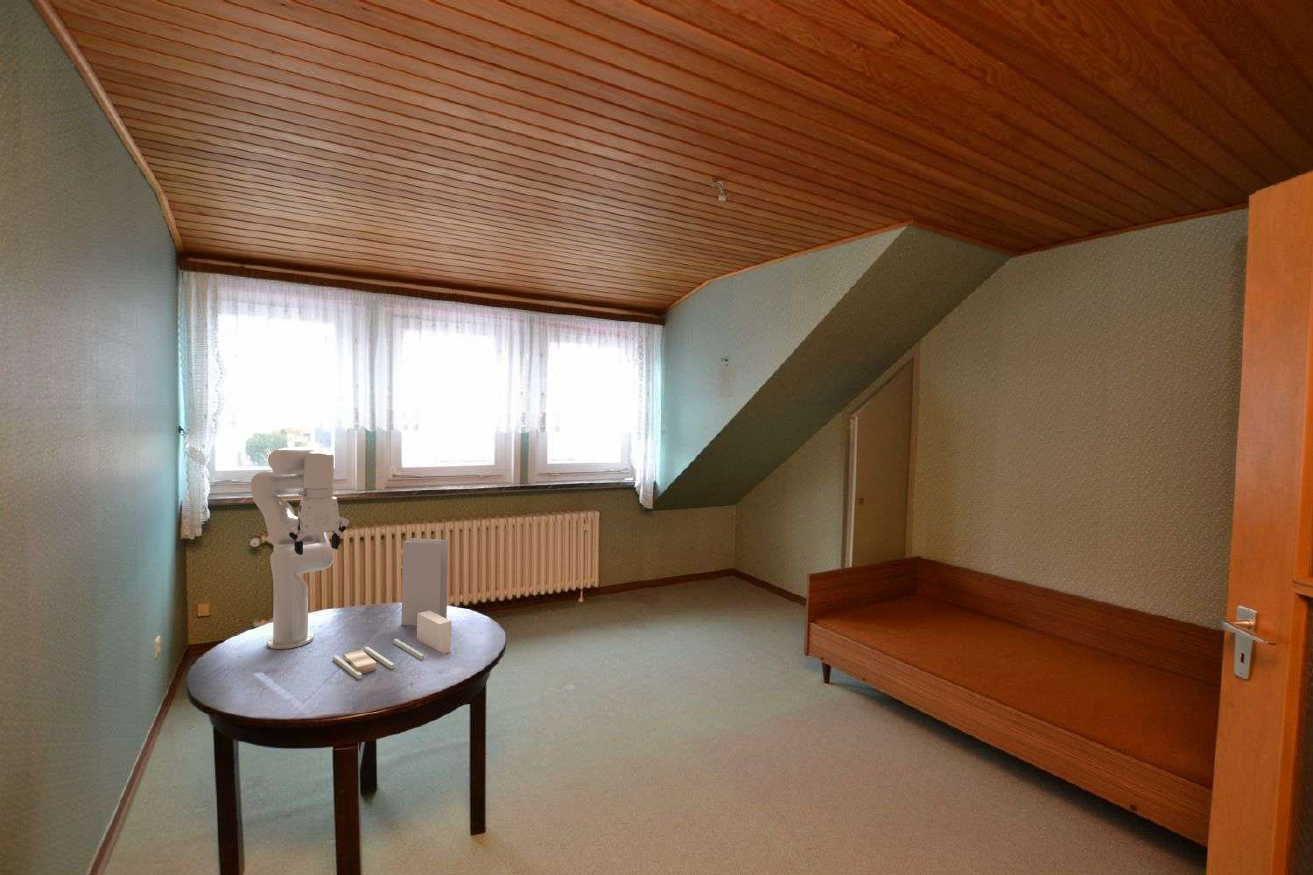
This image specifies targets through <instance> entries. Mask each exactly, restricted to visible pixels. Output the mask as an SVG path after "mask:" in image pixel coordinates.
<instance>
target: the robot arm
mask: <svg viewBox="0 0 1313 875" xmlns="http://www.w3.org/2000/svg"><path fill="white" fill-rule="evenodd" d="M267 463H268V465H269V467H270V468H271V469H272V470H267V471H262V472H258V473H255V475H253V476H252V478H251V480H250V492H251V496H252V500H253V501H254V503H255V505H256V506H257V508H258V509H259V510H260V512H261V514H262V516H263V519H264V521H265V526H266V530H267V533H268V536H269V540H270V543H271V544H272V546H274V547H276V549H274V550H273V551H272V553H271V554H270V557H269V558H270V559H269V562H270V568H271V574H272V580H273V581H272V584H273V585H272V586H273V602H272V604H273V606H272V607H273V608H272V609H273V610H272V611H273V612H272V613H273V614H272V616H273V617H272V618H273V620H272V621H273V626H272V629H273V630H272V632H273V634H272V635H273V636H272V637H270V638H269V639H268V640H267V643H266V644H267V647H268V648H269V647H270V648H269V649H273V650H287V649H292V648H293V649H294V648H299V647H301V646H305V645H307V644H309V643H310V642H312V641H313V640H314V633H312V632H310V631H309V586H308V583H307V582H306V580H304V579H303V578H302V577H301V576H300V575H301V574H306V573H311V572H318V571H324V570H327V569H329V568H331V566H332V565H333V563H334V558H335V557H334V551H333V549H334V550H339V547H340V544H341V543H340V542H341V540H340V539H341V537H340V536H342V535H343V533H344V532H345V530H346V529H347V527H348V525H349V522H350V519H348V518H345V517H342V516H340V514H339V513H340V512H339V504H338V499H337V497H336V496H334V475H335V474H334V473H335V469H334V468H335V457H334V454H333V453H332V452H330V451H328V450H327V449H323V448H313V447H304V446H303V447H302V446H301V447H279V448H277V449H274V450H273V451H272V452H270V454H269V455H268V458H267ZM296 494H297V495H298V496H300V497H303V498H301V499H300V501H299V506H298V511H297V516H296V514H295V511H294V508H293V507H292V505H291V504H290V503H289V502H287V501H286V500H285V499H283V498H281V497H280V496H284V495H296ZM340 522H341V525H340ZM328 533H333V534H331V541H330V538H329V534H328Z"/></svg>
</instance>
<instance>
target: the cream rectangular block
mask: <svg viewBox="0 0 1313 875" xmlns="http://www.w3.org/2000/svg"><path fill="white" fill-rule="evenodd" d="M416 641H417V642H418V643H421V644H423V645H424V646H427V647H428V648H431V649H433V650H436V651H437V652H439V653H442V654H444V653H445V654H449V653H451V652H452V645H451V644H452V620H451V619H448V618H447V619H446V618H444V617H442V616H440V615H438V614H435V613H433V612H431V611H425V612H421V613H417V626H416Z"/></svg>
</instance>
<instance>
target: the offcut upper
mask: <svg viewBox="0 0 1313 875" xmlns="http://www.w3.org/2000/svg"><path fill="white" fill-rule="evenodd" d="M342 656H343V658H342V659H343V660H344V661H345V662H347V663H348V664H349V665H351V666H352V667H353V668H355V669H356V670H357V671H359V672H360V673H363V674H365V673H364V672H366V673H369V672H368V671H370V672H371V670H373V671H375V669H376V670H377V662H376V660H374V659H373V657H372V656H371V655H369V654H368V653H366V652H365V650H363V649H358V650H354V651H351V652H347V653H343V655H342Z"/></svg>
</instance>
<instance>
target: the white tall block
mask: <svg viewBox="0 0 1313 875" xmlns="http://www.w3.org/2000/svg"><path fill="white" fill-rule="evenodd" d="M401 557H402V563H401V564H402V565H401V566H402V567H401V572H402V573H401V613H400V614H401V617H400V619H401V621H400V622H401V624H400V625H401V626H409V625H413V626H412V627H417V613H421V612H425V611H431V612H433V613H435V614H438V615H440V616H442V617H444V618H446V619H448V618H447V617H448V614H447V612H448V571H449V570H448V569H449V568H448V566H449V562H448V561H449V560H448V558H449V540H448V539H431V538H416V537H415V538H411V537H410V540H402V556H401Z"/></svg>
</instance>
